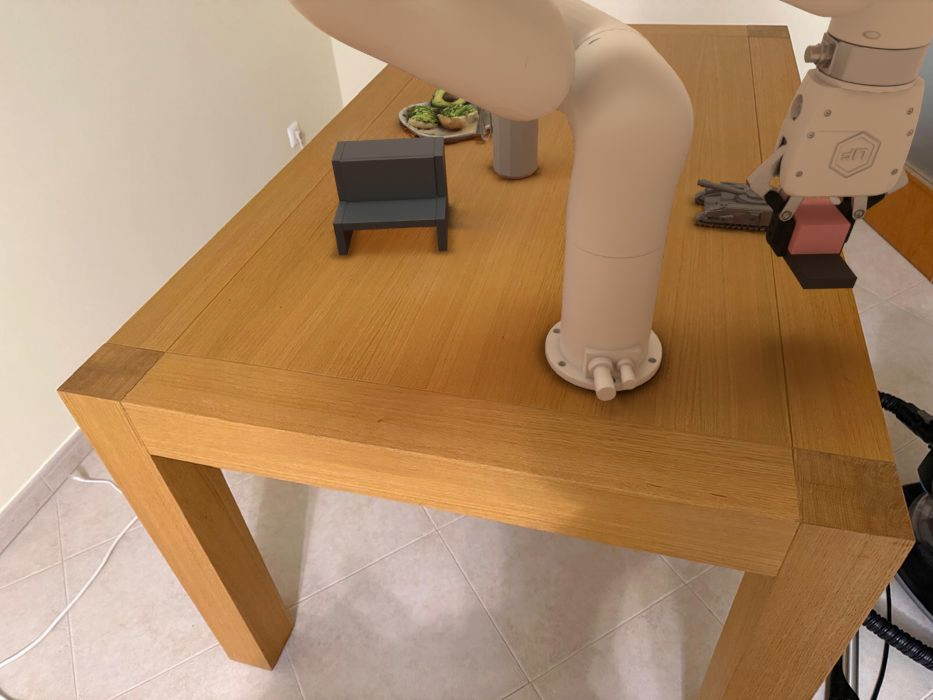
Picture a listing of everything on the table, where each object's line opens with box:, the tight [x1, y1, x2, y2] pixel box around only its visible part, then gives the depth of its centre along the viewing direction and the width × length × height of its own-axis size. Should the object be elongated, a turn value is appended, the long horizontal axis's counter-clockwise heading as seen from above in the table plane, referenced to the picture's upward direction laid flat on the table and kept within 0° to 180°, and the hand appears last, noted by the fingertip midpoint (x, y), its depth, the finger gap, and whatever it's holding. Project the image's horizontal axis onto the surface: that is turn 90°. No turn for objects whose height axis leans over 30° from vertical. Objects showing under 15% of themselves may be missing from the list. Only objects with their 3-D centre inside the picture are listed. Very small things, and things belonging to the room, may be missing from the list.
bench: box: [331, 137, 450, 256], centre depth 93 cm, size 12×15×11 cm
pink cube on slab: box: [782, 197, 858, 290], centre depth 65 cm, size 9×5×4 cm, turn 0°
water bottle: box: [480, 108, 539, 180], centre depth 101 cm, size 9×8×25 cm
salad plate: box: [397, 88, 493, 144], centre depth 122 cm, size 19×18×5 cm
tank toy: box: [694, 178, 778, 232], centre depth 94 cm, size 12×10×5 cm
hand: (803, 247), depth 67 cm, fingers closed on pink cube on slab, 4 cm apart
